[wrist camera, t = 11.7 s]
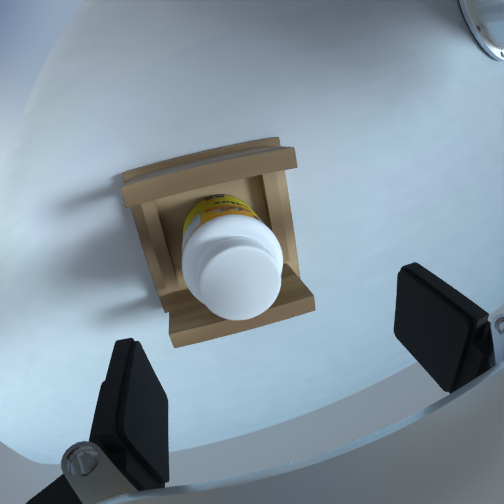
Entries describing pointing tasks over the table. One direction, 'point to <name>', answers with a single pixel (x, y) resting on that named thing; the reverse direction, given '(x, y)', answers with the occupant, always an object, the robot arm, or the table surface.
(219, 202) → the supplement bottle
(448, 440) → the robot arm
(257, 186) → the holder
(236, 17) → the table surface
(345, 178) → the table surface
